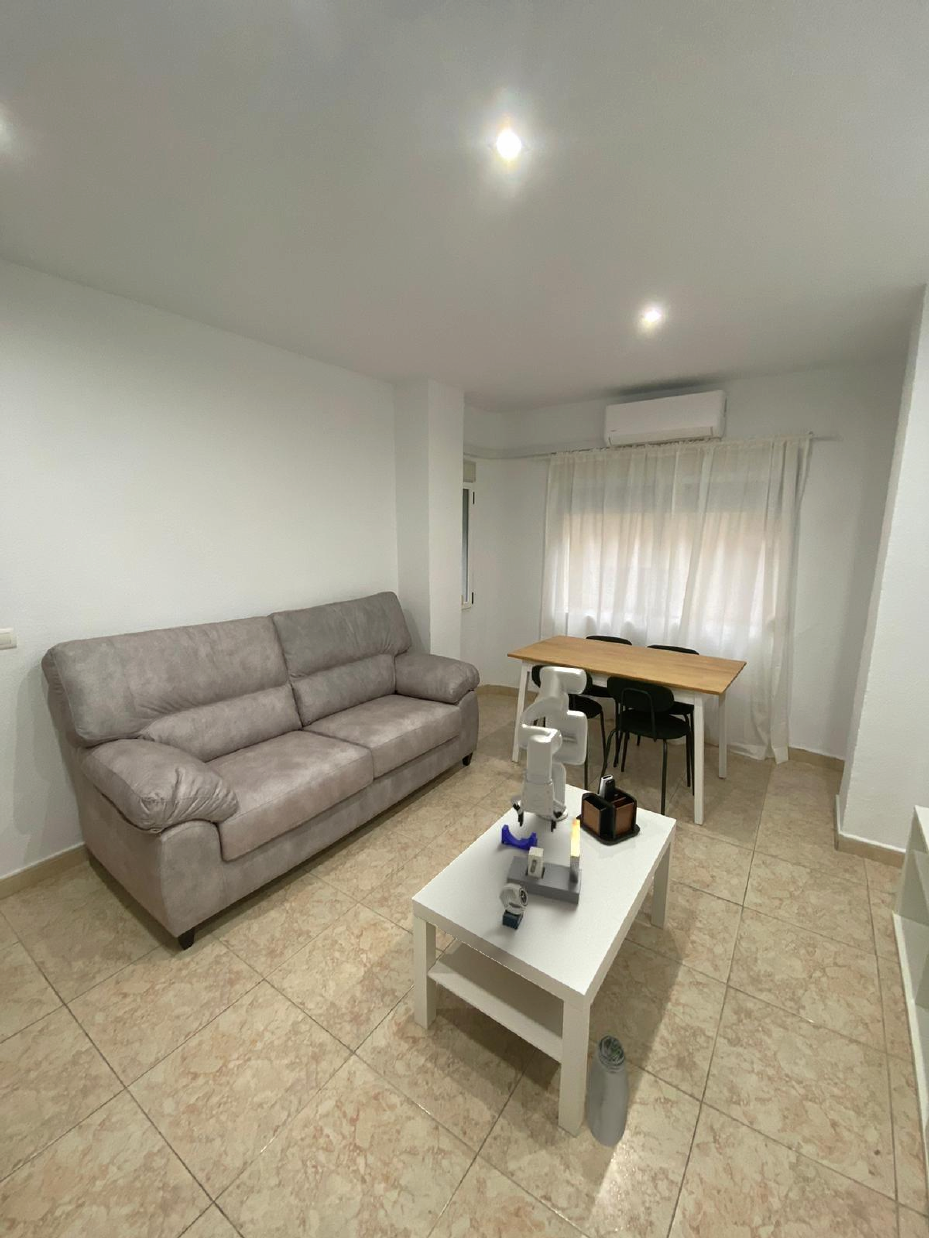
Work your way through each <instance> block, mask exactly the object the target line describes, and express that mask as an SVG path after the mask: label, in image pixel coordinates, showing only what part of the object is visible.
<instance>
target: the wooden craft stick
mask: <svg viewBox="0 0 929 1238" xmlns="http://www.w3.org/2000/svg"><path fill="white" fill-rule="evenodd" d="M571 821H572V823H571V824H572V825H571V846H570V848H571V849H570V855H569V856H570V857H569V867H570V873H569V879H570V881H572V882H577V881H578V879H579V869H580V861H581V859H580V857H581V856H580V824H581V823H580V822H581V821H580V819H577V818H576V819H575V818H572V820H571Z"/></svg>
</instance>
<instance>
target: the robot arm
mask: <svg viewBox="0 0 929 1238" xmlns="http://www.w3.org/2000/svg"><path fill="white" fill-rule="evenodd" d="M539 680H540V687H539V692H538V697H537V700H536V701H535V702H533V703H531V704H530V705H529V706H528V707H527V708H526V709H524V711H523V713H521V716H520V718H519V723H518V727H517V731H516V744H517V746H519V747H520V748H521V749H525V750H526V752H527V753H526V769H522V770H521V775H525V776H524V778H523V780H522V786H521V792H520V793H518V794H516V795H513V796H510V798H509V802H510V804H511V805H512V809H514V810H515V811H516V814H517V823H519V827H520V828H521V827H523V825H524V816H525V815H524V813H529V814H536V815H538V816H539V817H541V818H542V819H545V820H547V821H550V833H552V834H553V833H554V829H555V830H556V829H557V822H558V821H563V820H564V819H566V818H567V817H568V816H569V809H568V807H567V806H566V805H565V803H566V784H567V770H566V768H565V766H564V764H570V765H575V766H576V765H577V766H580V765H583V764H584V763H585V761H586V757H587V743H588V742H587V740H588V718H587V715H586V714H585V713H584V712H582V711H578V710H570V708H569V702H570V697H569V694H573V695H581V694H582V693H583V692H584V690H585V689H586V687H587V686H586V685H587V674H586V671H585V670H584V669H582V668H576V667H575V668H574V667H573V668H572V667H561V666H552V665H551V666H543V667H542V668H540V670H539ZM542 718H545V727H544V726H540V725H539V726H538V725H530V724H532V722H534V721H536V720H538V719H542ZM563 736H572V737H573V738H569V737H563ZM517 801H520V802H519V804H518V802H517Z"/></svg>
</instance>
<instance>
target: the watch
mask: <svg viewBox="0 0 929 1238" xmlns="http://www.w3.org/2000/svg"><path fill="white" fill-rule="evenodd" d="M510 889H511V891H513V894H514V896H515V900H516V902H517V903H513V902H511V901H510V902H509V900H508V898H507V896H506V893H505V890H510ZM499 899H500V902H501V904H502V906H503V908H504V909H505V910H504V912H503V914H502V925H503V926H506V927H508V928H511V929H514V930H516V931H517V930H518V929H519V926H520V924H521V922H522V919H523V917H524V911H525V909H526V907H527V906H528V904H529V895H528V893H527V892H526V890H525V889H524V888H523V887H521V886H520V885H517V884H514V883H508V884H507V883H506V884H504V886H503V887H502V889H501V891H500V892H499Z"/></svg>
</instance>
